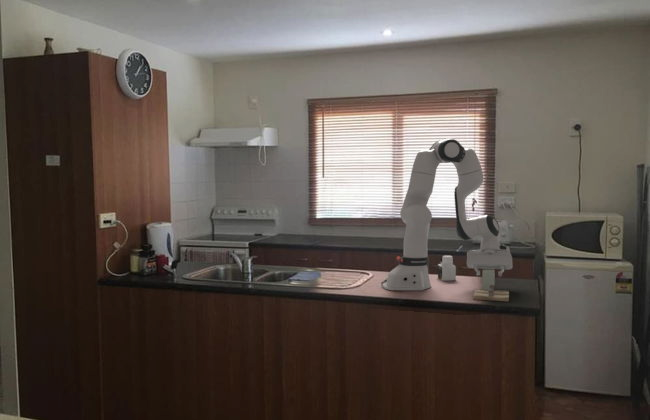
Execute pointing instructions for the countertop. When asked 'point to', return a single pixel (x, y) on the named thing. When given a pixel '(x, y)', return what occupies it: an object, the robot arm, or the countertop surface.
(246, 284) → the countertop surface
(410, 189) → the robot arm
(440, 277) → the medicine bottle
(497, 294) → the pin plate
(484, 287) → the block
